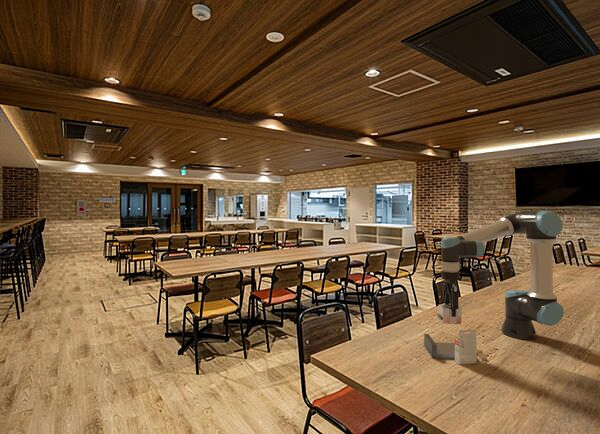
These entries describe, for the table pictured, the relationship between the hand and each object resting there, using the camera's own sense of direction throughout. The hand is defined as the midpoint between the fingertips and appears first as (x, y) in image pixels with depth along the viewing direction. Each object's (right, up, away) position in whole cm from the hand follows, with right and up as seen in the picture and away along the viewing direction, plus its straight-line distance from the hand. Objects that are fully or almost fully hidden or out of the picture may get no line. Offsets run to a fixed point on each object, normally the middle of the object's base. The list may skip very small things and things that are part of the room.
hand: (450, 320), depth 153 cm
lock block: (0, 0, 0) cm, 0 cm away
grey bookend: (-1, -15, 0) cm, 15 cm away
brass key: (+12, -15, -4) cm, 19 cm away
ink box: (+2, -15, -10) cm, 18 cm away
